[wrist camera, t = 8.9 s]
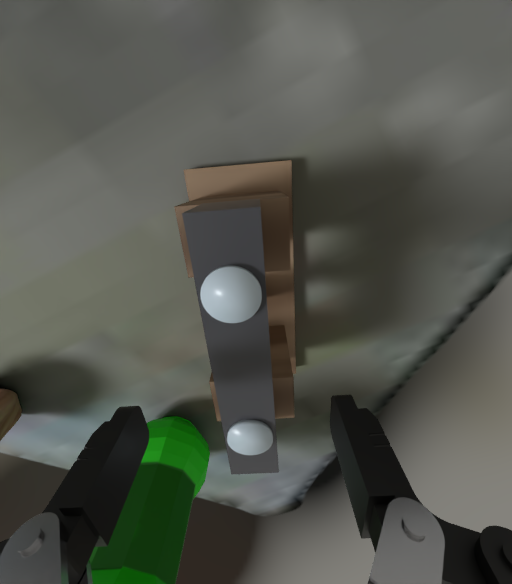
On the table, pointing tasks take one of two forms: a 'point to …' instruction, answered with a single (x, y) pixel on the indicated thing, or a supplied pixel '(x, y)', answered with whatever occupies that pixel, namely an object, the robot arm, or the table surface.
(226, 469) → the table surface
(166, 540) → the plastic bottle
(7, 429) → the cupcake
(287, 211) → the display stand
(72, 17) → the table surface
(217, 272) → the grey bar with knobs
